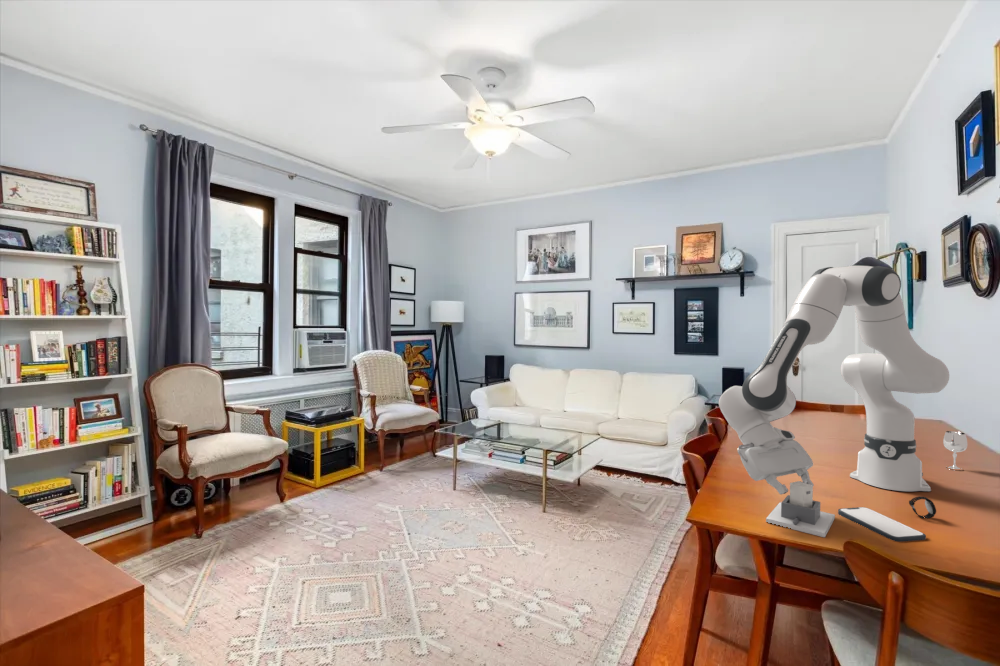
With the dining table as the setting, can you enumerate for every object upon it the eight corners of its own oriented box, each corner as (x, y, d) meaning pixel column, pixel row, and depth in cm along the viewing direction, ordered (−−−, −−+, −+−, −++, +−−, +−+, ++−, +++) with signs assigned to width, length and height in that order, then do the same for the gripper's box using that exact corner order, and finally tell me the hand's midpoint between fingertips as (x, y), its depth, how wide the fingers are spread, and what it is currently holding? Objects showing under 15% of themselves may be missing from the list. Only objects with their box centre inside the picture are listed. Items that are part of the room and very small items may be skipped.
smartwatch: (936, 522, 117) (936, 502, 117) (908, 516, 120) (908, 497, 120) (935, 517, 120) (936, 497, 120) (908, 511, 123) (908, 492, 123)
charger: (798, 512, 120) (799, 481, 120) (812, 518, 117) (813, 485, 117) (789, 514, 119) (790, 482, 118) (803, 520, 115) (804, 487, 115)
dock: (779, 505, 127) (780, 488, 127) (834, 518, 119) (835, 500, 119) (765, 522, 117) (766, 504, 117) (824, 537, 109) (825, 517, 108)
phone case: (929, 542, 108) (865, 512, 124) (929, 535, 108) (865, 506, 124) (895, 545, 107) (835, 514, 122) (895, 538, 106) (835, 508, 122)
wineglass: (965, 472, 154) (966, 435, 154) (941, 468, 158) (942, 432, 158) (967, 469, 158) (968, 432, 157) (943, 465, 162) (944, 429, 162)
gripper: (742, 439, 121) (777, 490, 112) (796, 431, 129) (833, 478, 120) (727, 452, 125) (760, 502, 116) (780, 443, 133) (814, 490, 125)
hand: (797, 490), depth 119 cm, fingers open, 8 cm apart
